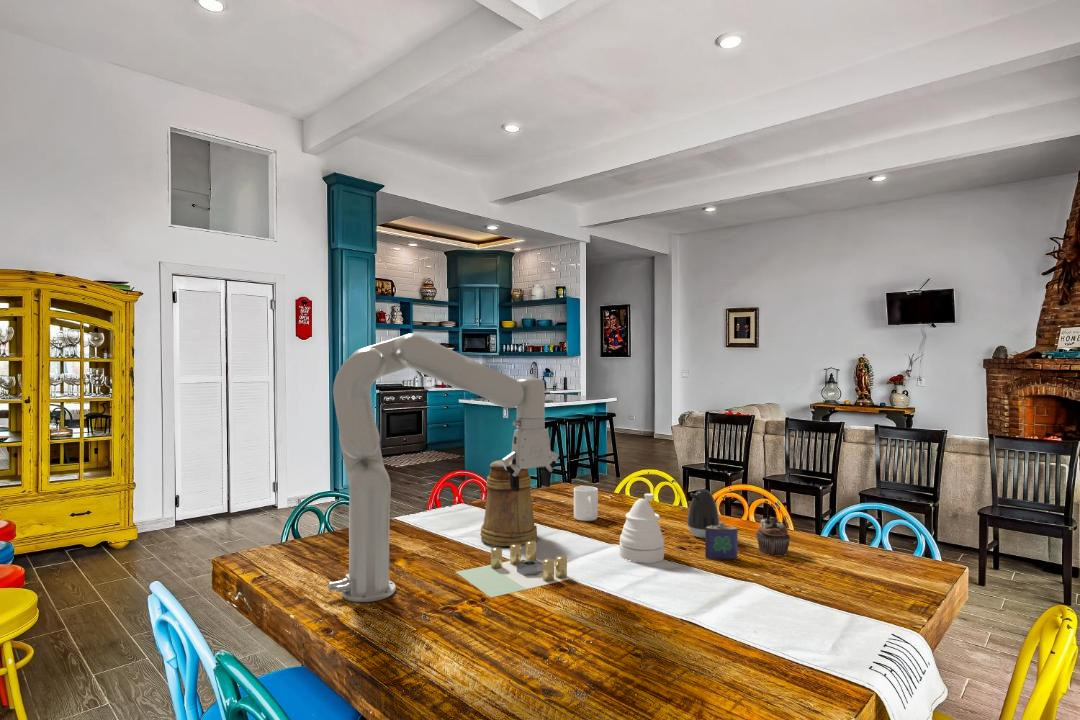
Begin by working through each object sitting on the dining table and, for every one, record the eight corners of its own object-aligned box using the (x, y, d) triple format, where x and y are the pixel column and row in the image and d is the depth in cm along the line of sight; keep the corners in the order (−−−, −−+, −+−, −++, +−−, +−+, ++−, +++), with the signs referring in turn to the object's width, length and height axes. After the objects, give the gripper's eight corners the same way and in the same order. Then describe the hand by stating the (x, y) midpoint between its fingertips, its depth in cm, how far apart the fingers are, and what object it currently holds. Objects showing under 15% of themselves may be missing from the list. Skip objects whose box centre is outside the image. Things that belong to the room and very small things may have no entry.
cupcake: (795, 557, 177) (795, 523, 177) (762, 556, 177) (762, 522, 177) (783, 547, 187) (783, 514, 187) (751, 546, 187) (751, 514, 187)
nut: (526, 577, 157) (526, 569, 157) (513, 569, 163) (513, 561, 163) (546, 573, 160) (546, 564, 160) (532, 565, 166) (532, 557, 166)
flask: (736, 557, 177) (736, 520, 177) (739, 560, 174) (739, 523, 174) (704, 556, 177) (704, 520, 177) (706, 560, 174) (706, 522, 174)
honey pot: (661, 549, 184) (662, 490, 183) (666, 564, 171) (666, 500, 171) (618, 547, 185) (619, 488, 185) (620, 562, 172) (620, 498, 172)
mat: (490, 600, 144) (490, 597, 144) (455, 574, 161) (455, 571, 161) (572, 581, 157) (572, 578, 157) (532, 559, 174) (532, 556, 174)
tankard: (477, 548, 184) (477, 465, 183) (485, 526, 207) (485, 453, 207) (537, 548, 183) (537, 466, 183) (538, 526, 207) (538, 453, 207)
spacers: (522, 588, 150) (523, 567, 150) (489, 566, 165) (489, 548, 165) (569, 577, 158) (569, 558, 158) (532, 557, 173) (532, 540, 173)
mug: (579, 524, 210) (579, 493, 210) (571, 515, 222) (571, 486, 222) (603, 523, 212) (603, 492, 212) (594, 514, 224) (594, 485, 223)
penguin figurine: (680, 533, 200) (680, 487, 200) (705, 530, 204) (705, 485, 204) (700, 542, 190) (700, 494, 190) (726, 538, 195) (726, 491, 195)
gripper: (509, 427, 155) (509, 494, 155) (565, 423, 164) (565, 487, 164) (495, 425, 161) (495, 489, 161) (549, 421, 170) (549, 482, 170)
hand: (530, 488), depth 163 cm, fingers open, 9 cm apart
